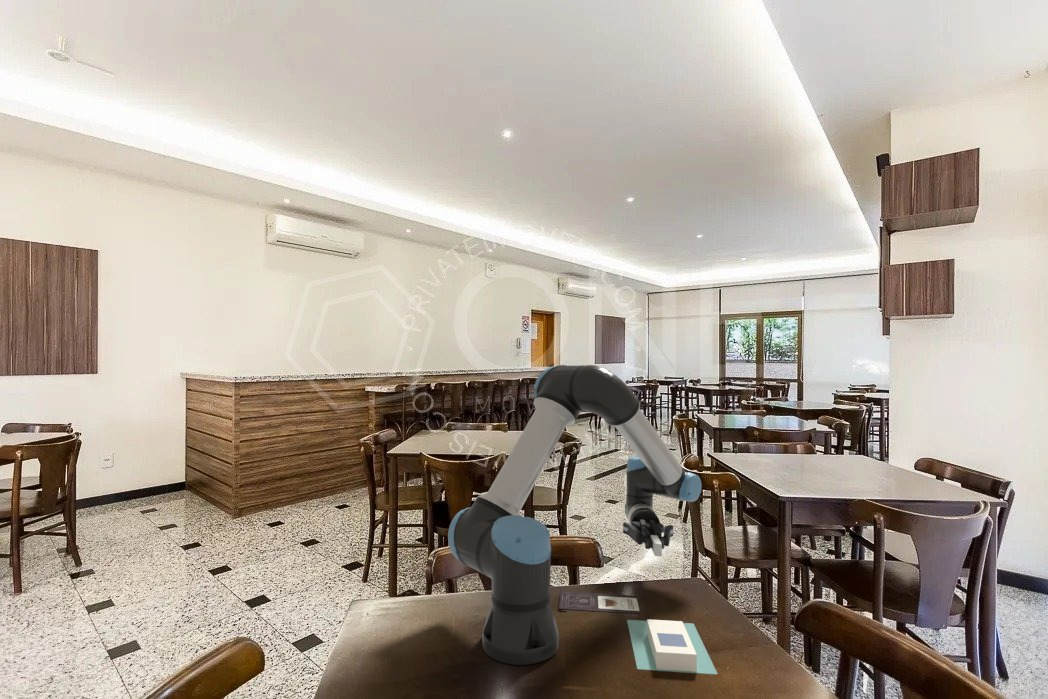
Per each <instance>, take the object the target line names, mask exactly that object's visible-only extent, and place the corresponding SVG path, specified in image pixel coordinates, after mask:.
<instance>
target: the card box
mask: <svg viewBox="0 0 1048 699" xmlns="http://www.w3.org/2000/svg"><path fill="white" fill-rule="evenodd" d="M646 621H647V636H648V639H649V643H650V646H651V650H652V654H653V657H654V661H655V664H656V668H657V669H661V670H676V671H691V672H697V654H696V652H695V649H694V647H693V645H692V642H691V640H690V638H689V636H688V633H687V631H686V629H685V626H684V624H683V623H684V621H681V620H665V619H648V618H647V619H646Z"/></svg>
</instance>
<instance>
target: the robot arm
mask: <svg viewBox="0 0 1048 699" xmlns="http://www.w3.org/2000/svg"><path fill="white" fill-rule="evenodd" d="M534 389H535V391H534V400H533V406H534V412H533V414H532V415H531V417H530V419H529V421H528V422H527V424H526V426H525V427H524V429H523V431H522V433H521V434H520V435H519V437H518V440H517V441H516V442H515V444H514V446H513V448H512V449H511V451H510V453H509V455H508V456H507V459H506V460H505V462H504V463H503V465H502V467H501V469H500V470H499V472H498V473H497V476H496V477H495V479H494V481H493V482H492V483H491V486H490V488H489V489H488V491H487V492H486V493H484V494H479V495H477V497H476V499H475V500H474V502H473V504H472V505H471V507H466V508H465V509H461V510H460V511H458V512H457V513H456V514H455V515H454V517H453V518H452V520H451V522H450V524H449V527H448V532H447V540H448V547H449V550H450V552H451V553H452V555H453V557H454V558H455V559H457V560H458V561H460V563H461V564H463V565H465V566H466V567H467V568H471V569H473V570H475V571H477V572H479V573H481V574H482V575H484V576H486V577H488V578H489V579H491V604H490V608H489V609H488V613H487V617H486V620H485V623H484V626H483V630H482V632H481V633H482V638H481V639H482V640H481V641H482V643H481V644H482V645H481V646H482V649H483V651H484V652H485V653H486V655H488V656H489V657H490V658H492V659H493V660H496V661H497V662H500V663H504V664H507V665H515V666H524V665H525V666H527V665H533V664H539V663H542V662H544V661H547V660H548V659H550V658H552V657H553V656H554V655H555V654H556V653H557V652H558V649H559V645H560V642H559V641H560V636H559V634H560V633H559V632H560V631H559V628H558V626H557V625H558V624H557V621H556V619H555V616H554V612H553V609H552V605H551V567H552V566H551V564H552V563H551V561H552V559H551V558H552V546H551V537H550V535H551V534H550V532H549V528H548V527H547V526H546V525H545V524H544V523H542V522H541V521H540V520H537V519H535V518H533V517H529V516H522V515H521V514H520V512H521V510H522V508H523V506H524V504H525V503H526V501H527V499H528V497H529V496H530V494H531V491H532V490H533V488H534V486H535V484H536V483H537V480H538V479H539V476H540V475H541V473H542V471H543V469H544V467H545V466H546V464H547V462H548V460H549V458H550V456H551V455H552V452H553V450H554V449H555V447H556V446H557V444H558V442H559V440H560V438H561V436H562V435H563V432H564V430H565V429H566V427H570V426H573V425H574V424H575V423H576V421H577V419H578V417H579V415H580V413H591V414H595V415H597V416H598V417H601V418H602V420H604V421H605V422H606V424H608V425H609V426H610V427H615V429H616V430H617V431H618V432H619V434H620V436H622V438H623V439H624V440H625V441H626V443H627V445H629V447H630V448H631V449H632V450H633V452H634V453H635V454H636V456H631V457H629V458H628V459H627V464H626V471H625V472H626V497H625V501H626V502H625V504H624V512H625V514H624V515H626V518H627V519H628V522H629V523H628V522H626V521H624V522H622V533H623V534H624V535H627V536H628V537H629V538H631V539H632V540H633V541H634V542H635V543H636V544H637V545H643V544H644V548H645V549H647V550H652V552H653V555H654V557H663V556H662V555H663V550H664V549H665V547H669V546H670V542H671V538H672V537H674V525H672V524H670V525H669V524H668V525H665V526H664V524H663V523H661V521H660V519H659V517H658V516H657V514H656V512H655V510H654V509H653V502H654V499H653V497H654V495H657V496H662V497H664V498H670V499H675V500H678V501H680V502H690V503H693V502H696V501H697V500H699V497H700V495H701V493H702V480H701V478H700V476H699V475H698V474H695V473H692V472H691V471H685V470H684V468H683V467H682V465H681V464H680V462H679V461H678V460H677V459H676V457H675V456H674V454H673V453H672V452H671V450H670V448H669V447H668V446H667V445H666V443H665V441H664V440H663V438H661V436H660V435H659V433H658V432H657V431H656V429H655V427H654V426H653V425H652V423H651V422H650V421H649V419H648V418H647V417H646V415H645V413H644V412H643V411H642V410H641V402H640V400H639V398H638V397H637V395H636V394H635V392H634V391H633V390H632V389H631V388H630V387H629V386H628V385H627V384H626V383H625V382H624V381H623V380H622V379H621V378H620V377H619V376H617V375H616V374H615V373H613V372H612V371H610V370H608V369H607V368H605V367H602V366H599V365H595V364H587V365H586V364H585V365H584V364H583V365H581V364H580V365H566V364H560V365H559V364H558V365H554V366H550V367H547V368H546V369H544V370H543V371H542V372H541V373H540V374H539V375H538V377H537V378H536V380H535V383H534ZM662 534H663V536H662Z"/></svg>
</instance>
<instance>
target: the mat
mask: <svg viewBox="0 0 1048 699" xmlns="http://www.w3.org/2000/svg"><path fill="white" fill-rule="evenodd" d="M626 622H627V628H628V632H629V636H630V641H631V646H632V651H633V655H634V659H635V664H636V669H637V670H639V671H640V670H642V671H644V670H645V671H658V672H671V673H672V672H673V673H686V674H687V673H689V674H701V675H715V676H716V675H719V674H718V671H717V670H716V668H715V666H714V663H713V661H712V659H711V657H710V654H709V653H708V651H707V649H706V647H705V645H704V643H703V640H702V639H701V636H700V634H699V632H698V630H697V628H696V626H695V623H693V622H692V623H689V622H687V623H686V622H683V624H684V626H685V629H686V631H687V633H688V636H689V638H690V640H691V642H692V645H693V647H694V649H695V652H696V654H697V672H691V671H676V670H661V669H657V668H656V664H655V661H654V657H653V654H652V650H651V646H650V643H649V639H648V636H647V620H638V619H626Z"/></svg>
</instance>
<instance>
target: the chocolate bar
mask: <svg viewBox="0 0 1048 699" xmlns="http://www.w3.org/2000/svg"><path fill="white" fill-rule="evenodd" d="M637 598H638V597H637V595H629V594H628V595H627V594H613V593H611V594H610V593H595V592H581V591H579V592H578V591H565V590H564V591H563V590H561V591H560V594H559V604H558V611H559V610H568V611H581V612H595V613H597V612H599V613H612V614H615V613H616V614H628V615H629V614H630V615H631V614H632V615H641V612H640V607H639V602H638V599H637Z"/></svg>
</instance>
